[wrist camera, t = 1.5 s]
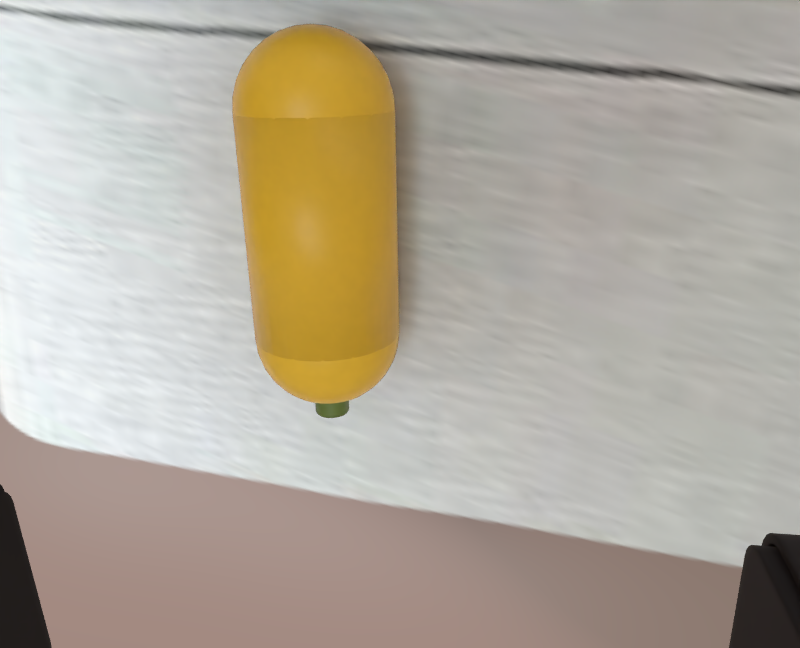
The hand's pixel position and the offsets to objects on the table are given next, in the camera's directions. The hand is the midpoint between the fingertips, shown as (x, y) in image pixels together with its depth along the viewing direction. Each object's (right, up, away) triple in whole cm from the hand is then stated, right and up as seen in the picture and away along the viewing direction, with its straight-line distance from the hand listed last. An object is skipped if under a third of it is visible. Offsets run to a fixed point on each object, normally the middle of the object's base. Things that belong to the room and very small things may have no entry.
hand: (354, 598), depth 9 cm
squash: (-2, +8, +20) cm, 22 cm away
